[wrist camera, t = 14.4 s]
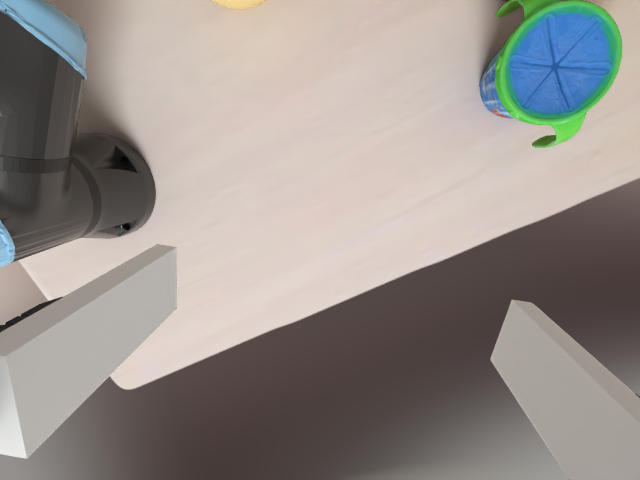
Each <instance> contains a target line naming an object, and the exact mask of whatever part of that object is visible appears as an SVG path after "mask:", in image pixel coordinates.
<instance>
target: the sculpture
mask: <svg viewBox="0 0 640 480" xmlns="http://www.w3.org/2000/svg"><path fill="white" fill-rule="evenodd" d="M211 1H213V2H214V3H216V4H218V5H221V6H224V7H227V8H231V9H248V8H252V7H255V6H258V5H260V4H261V3H263V2H264V1H266V0H211Z"/></svg>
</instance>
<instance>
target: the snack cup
mask: <svg viewBox="0 0 640 480" xmlns="http://www.w3.org/2000/svg"><path fill="white" fill-rule="evenodd" d="M520 4H521V5H522V6H523V10H524V19H523V21H522V23H521V24H520V25H519V26H518V27H517V28H516V29H515V30H514V32H513V33H512V34H511V35H510V37H509V38H508V39H507V41H506V43H505V44H504V46H503V48H502V49H501V50H500V52H499V53H498V54H497V55H496V56H495V57H494V59H493V60H492V61H491V62H490V63H489V65H488V67H487V68H486V70H485V72H484V74H483V77H482V78H481V81H480V92H481V98H482V101H483V103H484V104H485V106H486V107H487V109H488V110H489V111H490V112H492V113H494V114H496V115H498V116H501V117H505V118H512V119H518V120H520V121H523V122H526V123H530V124H535V125H550V126H552V127H553V128H554V130H555V133H556V135H551V136H545V137H542V138H540V139H538V140H536V141H535V142H533V143H532V146H533V147H536V148H547V147H551V146H555V145H557V144H559V143H561V142H564V141H567V140H569V139H570V138H572V137H573V136H574V135H575V134H576V133H577V132H578V131H579V129H580V128H581V126H582V124H583V121H584V118H585V115H586V113H587V111H588V110H589V109H591V108H592V107H593V106H594V105H596V104H597V103H598V102H599V101H600V100H601V99H602V97H603V96H604V95H605V94H606V93H607V91H608V90H609V88H610V87H611V85H612V83H613V81H614V79H615V78H616V75H617V73H618V71H619V67H620V62H621V58H622V39H621V35H620V32H619V29H618V27H617V25H616V23H615V21H614V20H613V18H612V17H611V16H610V15H609V14H608V13H607V12H606V11H605V10H604V9H602V8H601V7H599V6H597V5H595V4H593V3H590V2H587V1H581V0H567V1H560V0H509V1H507V2H506V3H505V4H504V5H502V6H501V7H500V8H499V10H498V11H497V13H496V16H497V17H501V16H504V15H506V14H508V13H510V12H512V11H514V10H516V9H517V8H518V7H519V6H520Z"/></svg>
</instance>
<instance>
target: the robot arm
mask: <svg viewBox="0 0 640 480" xmlns="http://www.w3.org/2000/svg"><path fill="white" fill-rule="evenodd" d="M87 50H88V42H87V37H86V35H85V33H84V31H83V30H82V28H81V27H80V26H79V25H78V24H77V23H76V22H75V21H74V20H73V19H72V18H71V17H69V16H68V15H67V14H65V13H64V12H62V11H61V10H59V9H58V8H56V7H54V6H53V5H51V4H50V3H48V2H46V1H45V0H0V267H1V266H5V265H7V264H9V263H12V262H14V261H17V260H20V259H23V258H25V257H28V256H31V255H34V254H36V253H39V252H42V251H45V250H48V249H50V248H53V247H56V246H59V245H61V244H64V243H67V242H70V241H72V240H75V239H78V238H105V239H109V238H117V237H121V236H124V235H127V234H129V233H132V232H134V231H136V230H138V229H139V228H141V227H142V226H143V225H144V224H145V223H146V222H147V220H148V219H149V217H150V216H151V214H152V211H153V208H154V204H155V186H154V181H153V178H152V175H151V172H150V170H149V168H148V166H147V164H146V163H145V161H144V160H143V159H142V157H141V156H140V155H139V154H138V153H137V152H136V151H135V150H134V149H133V148H132V147H131V146H130V145H128V144H127V143H125V142H124V141H122V140H120V139H118V138H116V137H113V136H110V135H105V134H90V133H85V134H78V135H76V131H77V125H78V118H79V112H80V105H81V99H82V92H83V86H84V81H87V73H86V72H85V70H86V60H87ZM176 309H177V278H176V247H172V246H165V245H159V244H157V245H155V246H154V247H152V248H150V249H148V250H146V251H145V252H143V253H141V254H139V255H137V256H136V257H134V258H132V259H130V260H129V261H127V262H125V263H123V264H121V265H120V266H118V267H116V268H114V269H113V270H111V271H109V272H107V273H105V274H104V275H102V276H100V277H98V278H96V279H95V280H93V281H91V282H89V283H88V284H86V285H84V286H82V287H80V288H79V289H77V290H75V291H73V292H72V293H70V294H68V295H66V296H64V297H60V298H57V299H54V300H51V301H48V302H45V303H42V304H39V305H37V306H36V307H34V308H32V309H30V310H28V311H26V312H25V313H23V314H22V315H21V316H17V317H15V318H13V319H12V320H10V321H8V322H6V324H5V325H0V454H4V455H10V456H15V457H20V458H26V459H27V458H28V457H29V456H30V455H31V454H32V453H33V452H34V451H35V450H36V449H37V448H38V447H39V446H40V445H41V444H42V443H43V442H44V441H45V440H46V439H47V438H48V437H49V436H50V435H51V434H52V433H53V432H54V431H55V430H56V429H57V428H58V427H59V426H60V425H61V424H62V423H63V422H64V421H65V420H66V419H67V418H68V417H69V416H70V415H71V414H72V413H73V412H74V411H75V410H76V409H77V408H78V407H79V406H80V405H81V404H82V403H83V402H84V401H85V400H86V399H87V398H88V397H89V396H90V395H91V394H92V393H93V392H94V391H95V390H96V389H97V388H98V387H99V386H100V385H101V384H102V383H103V382H104V381H105V380H106V379H107V378H108V377H109V376H110V375H111V374H112V373H113V372H114V371H115V370H116V369H117V368H118V367H119V366H120V365H121V364H122V363H123V362H124V361H125V360H126V359H127V358H128V357H129V356H130V355H131V354H132V353H133V352H134V351H135V350H136V349H137V348H138V347H139V346H140V345H141V344H142V343H143V342H144V341H145V340H146V339H147V338H148V337H149V336H150V335H151V334H152V333H153V332H154V331H155V330H156V329H157V328H158V327H159V326H160V325H161V324H162V323H163V322H164V321H165V320H166V319H167V318H168V317H169V316H170V315H171V314H172V313H173V312H174V311H175V310H176ZM490 360H491V361H492V363H493V364H494V366H495V367H496V369H497V371H498V372H499V374H500V375H501V377H502V378H503V380H504V381H505V383H506V384H507V386H508V388H509V389H510V391H511V392H512V393H513V395H514V397H515V398H516V400H517V401H518V403H519V404H520V406H521V407H522V409H523V410H524V412H525V414H526V415H527V417H528V418H529V420H530V421H531V422H532V424H533V426H534V427H535V429H536V430H537V432H538V433H539V435H540V437H541V438H542V440H543V441H544V443H545V444H546V446H547V447H548V449H549V450H550V452H551V453H552V455H553V456H554V458H555V460H556V461H557V463H558V464H559V466H560V467H561V469H562V470H563V472H564V473H565V475H566V476H567V478H568V480H640V396H638V395H637V394H635V393H633V392H632V391H631V390H630V389H629V388H628V387H627V386H626V385H624V384H623V383H622V382H621V381H620V380H619V379H617V378H616V377H615V376H614V375H613V374H612V373H611V372H610V371H609V370H608V369H606V368H605V367H604V366H603V365H602V364H601V363H600V362H599V361H597V360H596V359H595V358H594V357H593V356H592V355H591V354H589V353H588V352H587V351H586V350H585V349H584V348H583V347H581V346H580V345H579V344H578V343H577V342H576V341H575V340H573V339H572V338H571V337H570V336H569V335H568V334H567V333H566V332H565V331H563V330H562V329H561V328H560V327H559V326H558V325H557V324H555V323H554V322H553V321H552V320H551V319H550V318H549V317H548V316H546V315H545V314H544V313H543V312H542V311H541V310H540V309H539V308H537V307H536V306H535V305H534V304H533V303H529V302H523V301H516V300H512V301H511V304H510V307H509V309H508V312H507V315H506V318H505V320H504V323H503V326H502V329H501V331H500V334H499V337H498V340H497V342H496V345H495V349H494V351H493V353H492V356H491V359H490Z"/></svg>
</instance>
